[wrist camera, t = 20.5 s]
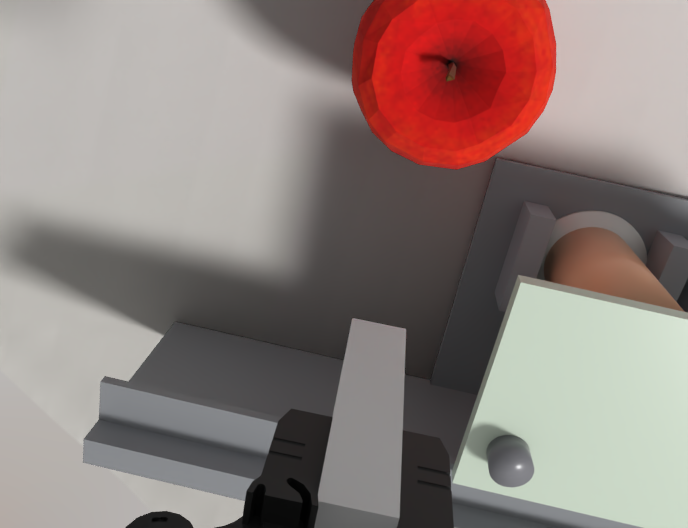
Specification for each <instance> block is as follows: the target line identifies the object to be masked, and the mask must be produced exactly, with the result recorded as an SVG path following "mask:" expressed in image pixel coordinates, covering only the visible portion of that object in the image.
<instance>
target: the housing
mask: <svg viewBox="0 0 688 528" xmlns="http://www.w3.org/2000/svg"><path fill="white" fill-rule="evenodd" d="M586 227H599V228H604V229H607V230H610V231H612V232H614V233H616V234H617V235H619V236H620V237H621V238H622V239H623V240H624V241H625V242H626V243H627V244H628V246H629V247H630V248H631V249H632V250H633V252H634V253H635V254H636V255H637V256H638V257H639V259H640V260H641V261H642V262H643V263H644V264H645V266H646V267H647V268H648V269H649V270H650V271H651V273H652V274H653V275H654V276H655V277H656V279H657V280H658V281H659V282H660V283H661V284H662V286H663V287H664V288H665V289H666V290H667V291H668V293H669V294H670V295H671V296H672V297H673V298H674V300H675V301H676V302H677V303H678V304H679V306H680V307H681V308H682V309H683V310H684V311H685V312H688V199H685V198H680V197H675V196H671V195H666V194H662V193H657V192H652V191H648V190H643V189H639V188H634V187H629V186H625V185H620V184H616V183H611V182H606V181H602V180H597V179H593V178H588V177H583V176H579V175H574V174H570V173H565V172H560V171H556V170H551V169H547V168H542V167H537V166H533V165H528V164H524V163H519V162H514V161H510V160H505V159H501V158H496V161H495V164H494V168H493V171H492V174H491V178H490V181H489V184H488V188H487V191H486V195H485V198H484V201H483V205H482V208H481V211H480V215H479V218H478V221H477V225H476V228H475V232H474V235H473V238H472V242H471V245H470V248H469V252H468V255H467V259H466V262H465V265H464V269H463V272H462V275H461V279H460V282H459V286H458V289H457V292H456V296H455V299H454V302H453V306H452V309H451V313H450V316H449V319H448V323H447V326H446V329H445V333H444V336H443V339H442V343H441V346H440V350H439V353H438V356H437V360H436V363H435V366H434V370H433V373H432V377H431V380H427V379H423V378H419V377H414V376H410V375H406V374H405V378H404V406H403V430H404V431H409V432H414V433H419V434H424V435H428V436H433V437H438V438H440V440H441V441H442V443H443V445H444V447H445V448H446V450H447V452H448V454H449V459H450V476H451V491H452V506H453V522H454V528H642V527H638V526H634V525H630V524H625V523H621V522H617V521H613V520H608V519H604V518H600V517H595V516H591V515H587V514H583V513H578V512H574V511H570V510H566V509H561V508H557V507H553V506H548V505H544V504H540V503H536V502H531V501H527V500H523V499H519V498H514V497H510V496H506V495H502V494H497V493H493V492H489V491H484V490H480V489H476V488H472V487H467V486H463V485H459V484H455V483H452V469H453V466H454V464H455V461H456V458H457V455H458V452H459V449H460V446H461V443H462V440H463V437H464V434H465V431H466V428H467V425H468V422H469V419H470V416H471V413H472V410H473V407H474V404H475V401H476V398H477V395H478V392H479V389H480V386H481V383H482V380H483V377H484V375H485V372H486V369H487V366H488V363H489V360H490V357H491V354H492V351H493V348H494V345H495V342H496V339H497V336H498V333H499V330H500V327H501V324H502V321H503V318H504V315H505V312H506V309H507V306H508V303H509V300H510V297H511V294H512V291H513V289H514V286H515V283H516V280H517V277H518V275H522V276H526V277H531V278H535V279H540V280H544V281H546V280H545V277H544V263H545V259H546V256H547V254H548V252H549V250H550V249H551V247H552V246H553V245H554V244H555V243H556V242H557V241H558V240H559V239H560V238H561V237H562V236H564V235H566V234H567V233H569V232H571V231H574V230H577V229H580V228H586ZM343 361H344V360H340V359H336V358H331V357H327V356H323V355H318V354H314V353H310V352H305V351H301V350H297V349H292V348H288V347H283V346H279V345H275V344H270V343H266V342H262V341H257V340H253V339H249V338H244V337H240V336H235V335H231V334H227V333H222V332H218V331H214V330H209V329H205V328H201V327H196V326H192V325H188V324H183V323H179V322H174V324H173V325H172V326H171V328H170V329H169V330H168V331H167V333H166V334H165V335H164V337H163V338H162V339H161V340H160V342H159V343H158V344H157V346H156V347H155V348H154V349H153V351H152V352H151V353H150V355H149V356H148V357H147V358H146V360H145V361H144V362H143V364H142V365H141V366H140V368H139V369H138V370H137V371H136V373H135V374H134V375H133V377H132V378H131V379H130V380H129V382H128V381H123V380H119V379H115V378H110V377H106V376H105V377H104V378H103V379H102V381H101V383H100V408H99V420H98V422H97V423H96V424H95V425H94V427H93V428H92V429H91V431H90V432H89V433H88V434H87V436H86V437H85V438H84V448H83V450H84V451H83V463H88V464H91V465H96V466H100V467H104V468H108V469H112V470H117V471H121V472H125V473H129V474H134V475H138V476H142V477H146V478H150V479H155V480H159V481H163V482H167V483H171V484H176V485H180V486H184V487H188V488H192V489H197V490H201V491H205V492H209V493H213V494H218V495H222V496H226V497H230V498H234V499H239V500H243V501H245V497H246V491H247V489H248V488H249V486H250V484H251V483H252V481H254V480H255V479H257V478H258V477H260V476H261V474H262V471H263V468H264V464H265V461H266V458H267V455H268V453H269V449H270V445H271V442H272V440H273V436H274V433H275V430H276V426H277V423H278V421H279V420H280V419H281V418H282V417H283V416H284V415H285V414H286V413H287V412H288V411H289V410H290V409H296V410H301V411H306V412H311V413H315V414H320V415H325V416H330V417H332V416H333V411H334V406H335V401H336V396H337V391H338V386H339V381H340V376H341V371H342V366H343Z"/></svg>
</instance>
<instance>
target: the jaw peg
mask: <svg viewBox="0 0 688 528" xmlns="http://www.w3.org/2000/svg"><path fill="white" fill-rule="evenodd" d="M544 277H545V280H546V281H549V282H553V283H558V284H562V285H567V286H571V287H576V288H580V289H585V290H589V291H593V292H598V293H602V294H607V295H611V296H616V297H620V298H625V299H629V300H634V301H638V302H643V303H647V304H652V305H656V306H661V307H665V308H670V309H674V310H679V311H683V312H685V311H684V310H683V309H682V308H681V307H680V306H679V304H678V303H677V302H676V301H675V300H674V298H673V297H672V296H671V295H670V294H669V293H668V291H667V290H666V289H665V288H664V287H663V286H662V284H661V283H660V282H659V281H658V280H657V279H656V277H655V276H654V275H653V274H652V273H651V271H650V270H649V269H648V268H647V267H646V266H645V264H644V263H643V262H642V261H641V260H640V259H639V257H638V256H637V255H636V254H635V253H634V252H633V250H632V249H631V248H630V247H629V246H628V244H627V243H626V242H625V241H624V240H623V239H622V238H621V237H620V236H619V235H617V234H616V233H614V232H612V231H610V230H607V229H604V228H599V227H586V228H580V229H577V230H574V231H571V232H569V233H567V234H566V235H564V236H562V237H561V238H560V239H559V240H558V241H557V242H556V243H555V244H554V245H553V246H552V247H551V249H550V250H549V252H548V254H547V256H546V259H545V263H544Z"/></svg>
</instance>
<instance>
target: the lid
mask: <svg viewBox="0 0 688 528" xmlns="http://www.w3.org/2000/svg"><path fill="white" fill-rule="evenodd" d="M452 483H455V484H459V485H463V486H467V487H472V488H476V489H480V490H484V491H489V492H493V493H497V494H502V495H506V496H510V497H514V498H519V499H523V500H527V501H531V502H536V503H540V504H544V505H548V506H553V507H557V508H561V509H566V510H570V511H574V512H578V513H583V514H587V515H591V516H595V517H600V518H604V519H608V520H613V521H617V522H621V523H625V524H630V525H634V526H638V527H642V528H688V312H683V311H679V310H674V309H670V308H665V307H661V306H656V305H652V304H647V303H643V302H638V301H634V300H629V299H625V298H620V297H616V296H611V295H607V294H602V293H598V292H593V291H589V290H585V289H580V288H576V287H571V286H567V285H562V284H558V283H553V282H549V281H544V280H540V279H535V278H531V277H526V276H522V275H518V277H517V280H516V283H515V286H514V289H513V291H512V294H511V297H510V300H509V303H508V306H507V309H506V312H505V315H504V318H503V321H502V324H501V327H500V330H499V333H498V336H497V339H496V342H495V345H494V348H493V351H492V354H491V357H490V360H489V363H488V366H487V369H486V372H485V375H484V377H483V380H482V383H481V386H480V389H479V392H478V395H477V398H476V401H475V404H474V407H473V410H472V413H471V416H470V419H469V422H468V425H467V428H466V431H465V434H464V437H463V440H462V443H461V446H460V449H459V452H458V455H457V458H456V461H455V464H454V466H453V469H452Z"/></svg>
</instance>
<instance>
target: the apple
mask: <svg viewBox="0 0 688 528" xmlns="http://www.w3.org/2000/svg"><path fill="white" fill-rule="evenodd" d="M555 74H556V41H555V36H554V31H553V26H552V21H551V16H550V10H549V8H548V5H547V3H546V1H545V0H374V1H373V2H372V3H371V5H370V6H369V7H368V8H367V10H366V12H365V13H364V15H363V16H362V18H361V21H360V25H359V28H358V32H357V36H356V39H355V43H354V50H353V65H352V85H353V91H354V94H355V96H356V99H357V101H358V104H359V106H360V109H361V111H362V113H363V115H364V117H365V119H366V121H367V123H368V125H369V127H370V129H371V131H372V133H373V134H374V135H375V136H376V137H378V138H379V139H380V140H381V141H382V142H383V143H384V144H385V145H386V146H387V147H388V148H389V149H390V150H391V151H392V152H395V153H397V154H399V155H401V156H403V157H405V158H407V159H409V160H411V161H413V162H415V163H417V164H419V165H426V166H434V167H442V168H449V169H460V168H463V167H467V166H470V165H474V164H477V163H481V162H484V161H486V160H488V159H489V158H491V157H492V156H494V155H495V154H497V153H498V152H500V151H501V150H503V149H504V148H506V147H507V146H509V145H510V144H512V143H513V142H515V141H516V140H518V139H519V138H521V137H522V136H524V135H525V134H527V132H528V131H529V130H530V128H531V127H532V126H533V124H534V123H535V122H536V120H537V119H538V118H539V116H540V115H541V114H542V112H543V111H544V109H545V106H546V104H547V102H548V99H549V97H550V95H551V92H552V90H553V85H554V79H555Z"/></svg>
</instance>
